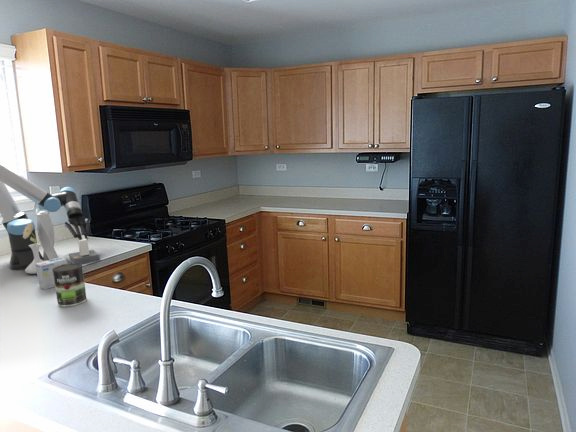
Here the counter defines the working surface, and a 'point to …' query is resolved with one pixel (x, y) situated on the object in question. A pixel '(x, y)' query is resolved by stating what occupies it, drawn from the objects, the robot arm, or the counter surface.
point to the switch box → (84, 257)
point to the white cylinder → (83, 247)
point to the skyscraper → (46, 235)
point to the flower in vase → (35, 248)
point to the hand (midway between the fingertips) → (85, 246)
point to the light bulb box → (48, 272)
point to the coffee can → (69, 284)
